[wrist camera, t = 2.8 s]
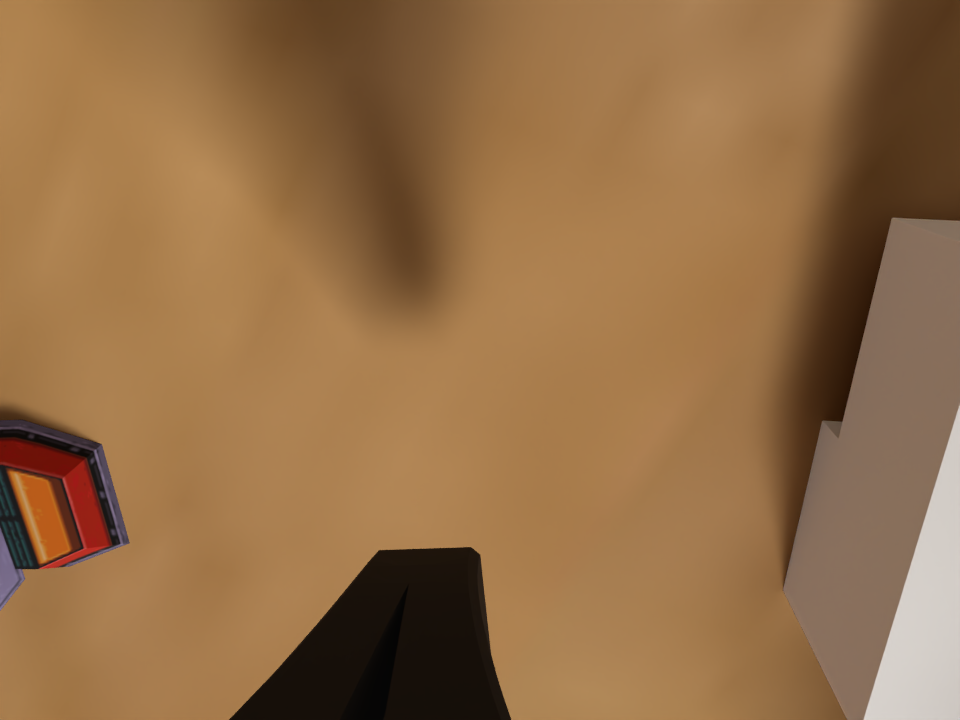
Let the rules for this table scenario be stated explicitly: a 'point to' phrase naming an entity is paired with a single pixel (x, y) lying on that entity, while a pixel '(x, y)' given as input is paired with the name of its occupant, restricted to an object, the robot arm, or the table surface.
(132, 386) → the table surface
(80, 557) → the fantasy tower
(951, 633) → the bracket
